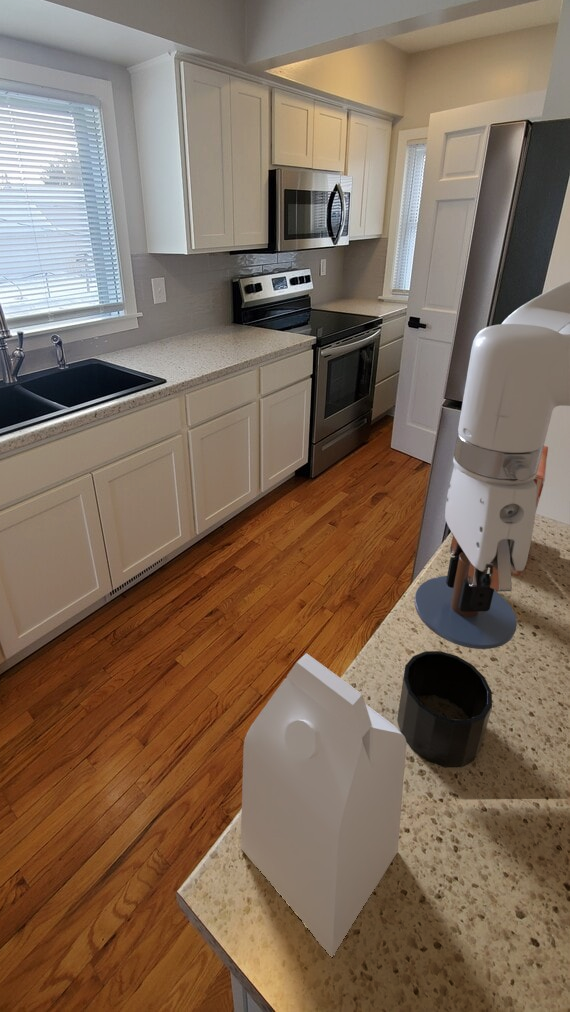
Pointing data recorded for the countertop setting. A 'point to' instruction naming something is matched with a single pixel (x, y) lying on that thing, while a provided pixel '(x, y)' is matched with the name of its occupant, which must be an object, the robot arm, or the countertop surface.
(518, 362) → the robot arm
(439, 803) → the countertop surface
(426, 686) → the tin
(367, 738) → the milk
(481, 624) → the plate lid
